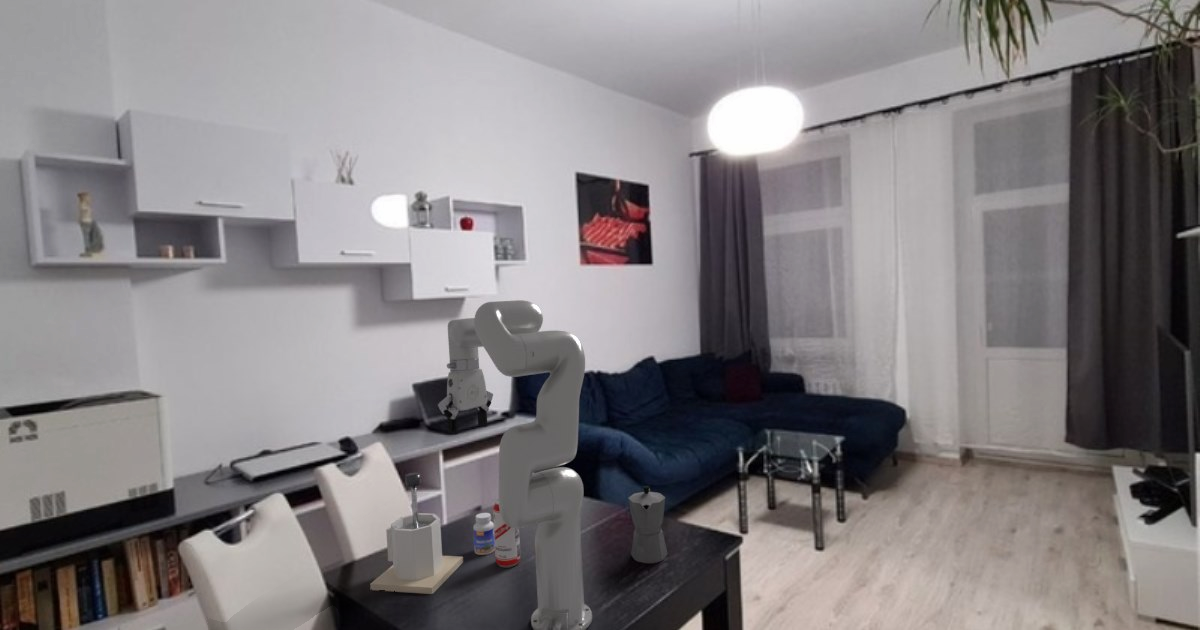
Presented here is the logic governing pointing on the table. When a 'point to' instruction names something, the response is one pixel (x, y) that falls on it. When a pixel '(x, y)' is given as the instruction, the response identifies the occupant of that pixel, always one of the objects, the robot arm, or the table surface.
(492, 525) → the pill bottle
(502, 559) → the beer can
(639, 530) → the coffeepot
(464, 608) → the table surface
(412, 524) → the plunger
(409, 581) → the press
